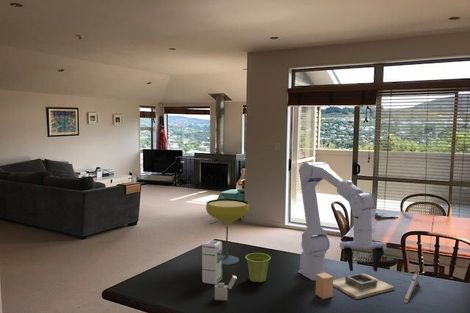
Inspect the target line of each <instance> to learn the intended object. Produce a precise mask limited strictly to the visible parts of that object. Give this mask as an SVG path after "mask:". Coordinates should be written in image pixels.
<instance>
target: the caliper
mask: <svg viewBox="0 0 470 313" xmlns="http://www.w3.org/2000/svg"><path fill="white" fill-rule="evenodd" d="M419 281H420V268H417V267H416V268H415V271H414V274H413V277H412V280H411V283H410V285H409V287H408V289H407V291H406V295H405V297H404V300H403V303H405V304H408V302H409V301H410V299H411V296H412V293H413V290H414V289H415V287H416V286H418V284H419Z"/></svg>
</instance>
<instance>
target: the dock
mask: <svg viewBox="0 0 470 313" xmlns="http://www.w3.org/2000/svg"><path fill="white" fill-rule="evenodd" d="M333 287H334V288H336V289H338V290H339V291H341V292H343V293H345V294H347V295H348V296H350V297H352V298H353V299H355V300H360V299H363V298H367V297H371V296H375V295H379V294H383V293H387V292H390V291H394V290H395V286H393V285H391V284H389V283H387V282H385V281H383V280H380V279H378V278H376V277H373V276H372V275H369V274H368V273H365V272H363V273H362V272H360V273H356V274H350V275H346V276H344V277H340V278H336V279H333Z"/></svg>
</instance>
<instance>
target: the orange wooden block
mask: <svg viewBox="0 0 470 313" xmlns="http://www.w3.org/2000/svg"><path fill="white" fill-rule="evenodd" d="M333 280H334V275H333V276H332V275H331V274H329V273H327V272H324V273H320V274H316V280H315V295H316V296H318V297H319V298H321V299H322V300H324V299H328V298H334V297H333V293H334V291H333V290H334V289H333V287H334V286H333Z"/></svg>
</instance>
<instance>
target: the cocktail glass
mask: <svg viewBox="0 0 470 313" xmlns="http://www.w3.org/2000/svg"><path fill="white" fill-rule="evenodd" d="M249 208H250V206H249V202H248V201H245V200H242V199H234V198H219V199H212V200H211V199H210V200H208V201H207V202H206V205H205V210H206V212H207V214H208V215H209V216H210V217H212V218H213V219H216V220H218V221H220V222H221V223H222V224H223V225H224V226H225V228H226V230H225V231H226V233H225V234H226V235H225V254H224V255H222V266H229V265H235V264H238V263H239V262H240V259H239V257H237V256H233V255H229V251H228V250H229V249H228V248H229V247H228V246H229V243H228V237H229V236H228V235H229V232H228V230H229V227H230V225H231V224H232V223H233V222H235V221H237V220H240V219H241V218H243V217H245V216H246V215H247V214H248V212H249Z"/></svg>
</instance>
